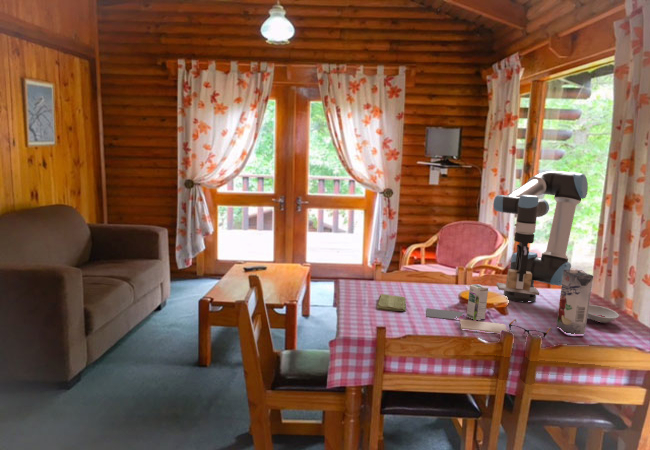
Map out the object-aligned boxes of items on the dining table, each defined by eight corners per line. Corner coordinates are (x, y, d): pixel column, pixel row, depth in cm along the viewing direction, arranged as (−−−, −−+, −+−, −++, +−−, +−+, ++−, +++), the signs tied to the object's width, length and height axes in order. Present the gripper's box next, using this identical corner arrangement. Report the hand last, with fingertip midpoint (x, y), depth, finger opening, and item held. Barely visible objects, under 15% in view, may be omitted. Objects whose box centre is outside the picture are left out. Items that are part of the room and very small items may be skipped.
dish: (572, 314, 235) (574, 303, 234) (605, 316, 234) (606, 305, 233) (589, 328, 217) (591, 316, 216) (624, 330, 216) (626, 319, 216)
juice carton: (574, 328, 216) (582, 266, 211) (587, 338, 205) (596, 272, 201) (553, 327, 215) (561, 265, 211) (565, 337, 205) (574, 272, 200)
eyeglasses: (507, 333, 207) (508, 324, 206) (515, 324, 219) (517, 315, 218) (544, 342, 199) (546, 333, 198) (551, 332, 211) (553, 323, 210)
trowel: (535, 290, 219) (538, 271, 218) (539, 295, 211) (542, 276, 210) (496, 284, 222) (499, 266, 221) (498, 289, 214) (501, 271, 213)
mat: (463, 312, 229) (463, 312, 229) (464, 321, 218) (464, 320, 218) (426, 308, 232) (426, 308, 232) (426, 316, 221) (426, 316, 221)
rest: (504, 326, 213) (504, 324, 213) (507, 335, 204) (508, 332, 204) (459, 321, 217) (460, 319, 217) (461, 330, 207) (461, 327, 207)
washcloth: (376, 310, 227) (376, 303, 226) (378, 299, 244) (379, 292, 244) (406, 313, 225) (406, 306, 224) (406, 301, 242) (407, 295, 242)
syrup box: (465, 316, 224) (469, 284, 221) (476, 315, 226) (479, 283, 224) (474, 321, 219) (478, 288, 216) (485, 319, 221) (488, 287, 219)
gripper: (512, 228, 222) (506, 280, 226) (518, 235, 205) (512, 291, 209) (530, 230, 220) (524, 282, 224) (538, 236, 203) (531, 293, 207)
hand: (518, 286), depth 216 cm, fingers closed on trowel, 4 cm apart
